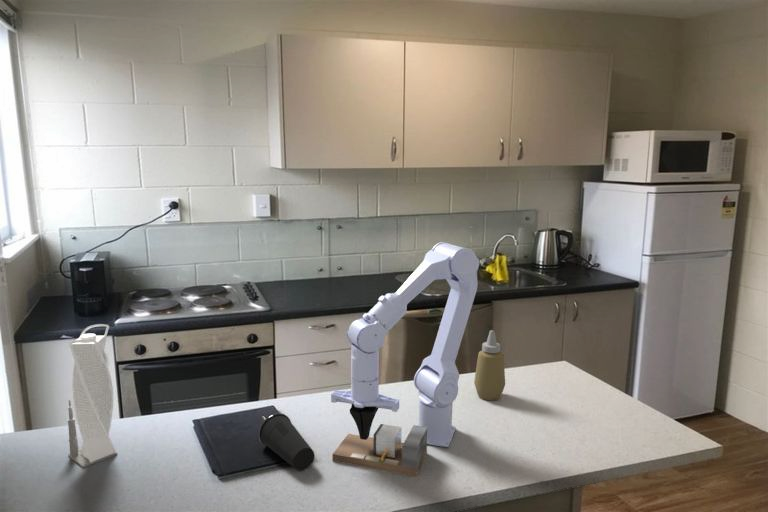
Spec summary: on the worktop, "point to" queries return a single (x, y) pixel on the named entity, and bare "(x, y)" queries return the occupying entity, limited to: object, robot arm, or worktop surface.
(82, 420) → the skyscraper
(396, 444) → the gauge carriage
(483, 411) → the worktop surface
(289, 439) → the drinking cup
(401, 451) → the gauge board
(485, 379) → the squeeze bottle
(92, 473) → the worktop surface
